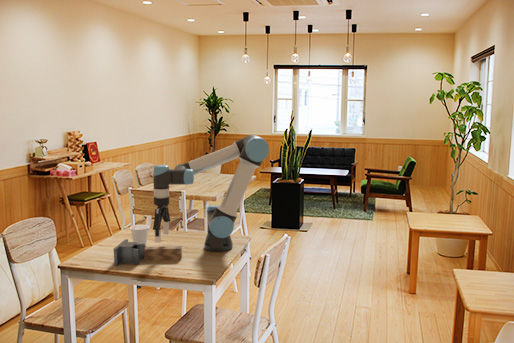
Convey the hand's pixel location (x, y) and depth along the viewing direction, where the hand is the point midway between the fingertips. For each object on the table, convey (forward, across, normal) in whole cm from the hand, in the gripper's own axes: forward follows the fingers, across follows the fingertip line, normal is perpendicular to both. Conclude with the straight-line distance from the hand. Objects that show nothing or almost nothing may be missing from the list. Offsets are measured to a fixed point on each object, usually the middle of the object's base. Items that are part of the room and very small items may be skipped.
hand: (162, 238), depth 252 cm
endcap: (+11, +5, -14) cm, 19 cm away
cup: (+11, -17, -17) cm, 27 cm away
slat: (+11, 0, +1) cm, 11 cm away
